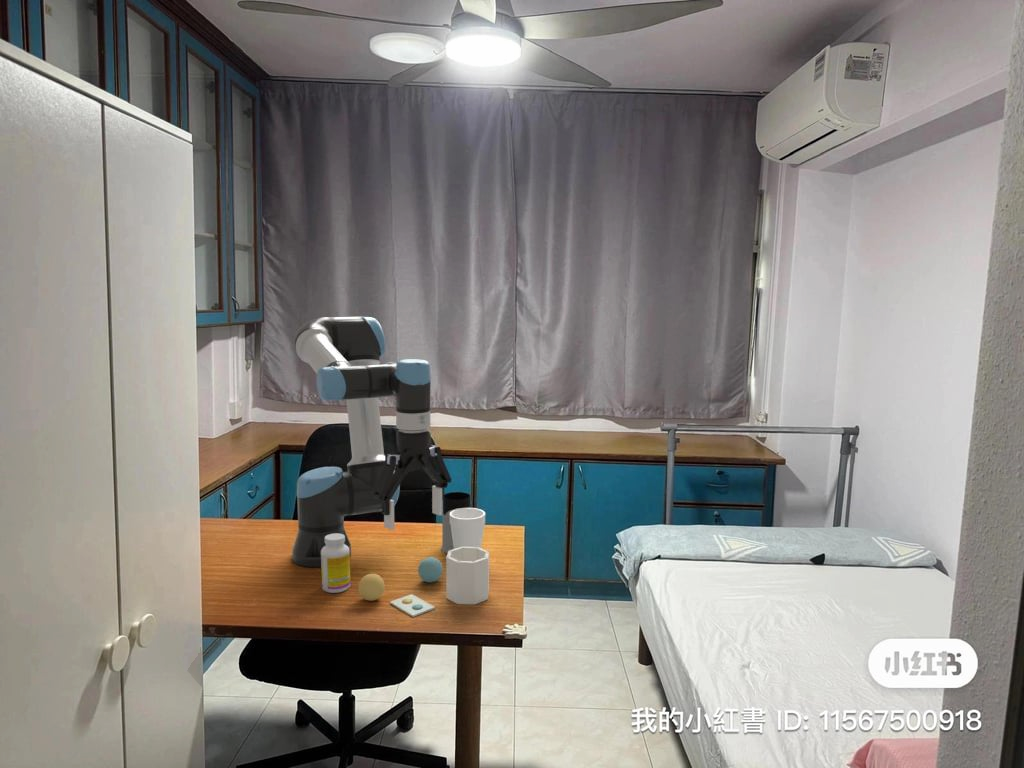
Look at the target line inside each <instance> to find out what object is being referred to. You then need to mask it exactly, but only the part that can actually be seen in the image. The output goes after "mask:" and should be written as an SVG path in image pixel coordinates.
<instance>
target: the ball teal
mask: <svg viewBox="0 0 1024 768" xmlns="http://www.w3.org/2000/svg"><path fill="white" fill-rule="evenodd" d="M417 567H418V569H417V573H418V576H419V578H420V579H421V580H422V581H423V582H426V583H435V582H437V581H439V579H440V578H441V577H442V575H443V570H444V568H443V565H442V563H441V561H440V560H439V559H438V558H437V557H432V556H431V557H430V556H429V557H425V558H424V559H422V560H421V561H420V563H419V565H418V566H417Z"/></svg>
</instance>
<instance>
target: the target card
mask: <svg viewBox="0 0 1024 768" xmlns="http://www.w3.org/2000/svg"><path fill="white" fill-rule="evenodd" d="M389 604H391V605H393V606H394V607H395V608H397V609H399V610H401V611H402V612H404V613H405V614H407V615H409V616H411V617H413V618H414V617H417V616H420V615H423V614H425V613H427V612H430V611H434V610H435V609H436V607H435V606H434V605H432V604H430V603H428V602H426V600H423V599H422V598H420V597H418V596H416V595H414V594H412V593H411V594H408V595H405V596H402V597H400V598H396V599H394V600H391V601H390V602H389Z"/></svg>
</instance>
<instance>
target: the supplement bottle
mask: <svg viewBox="0 0 1024 768" xmlns="http://www.w3.org/2000/svg"><path fill="white" fill-rule="evenodd" d="M344 542H345V535H343V534H339V533H334V534H329V535H327V536H325V544H326V546H324V547H323V548H322V550H321V567H320V569H321V571H320V572H321V588H322V590H323V591H324V592H326V593H330V594H337V593H342V592H346V591H347V590H348V589H349V588H350V587H351V561H350V560H351V559H350V558H351V556H350V552H349V547H348V546H347V545H345V544H344Z"/></svg>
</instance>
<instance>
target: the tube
mask: <svg viewBox="0 0 1024 768" xmlns="http://www.w3.org/2000/svg"><path fill="white" fill-rule="evenodd" d="M446 554H447V553H446ZM445 559H446V567H445V568H446V570H445V571H446V572H445V573H446V575H445V576H446V579H445V580H446V582H445V583H446V588H445V590H446V599H447V600H449V601H451V602H453V603H455V604H456V605H477V604H479V603H482V602H484V601H487V600H489V595H490V551H488V550H486V549H484V548H482V547H481V548H479V547H459V548H456V549H453V550H449V551H448V554H447V555H446V557H445Z"/></svg>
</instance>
